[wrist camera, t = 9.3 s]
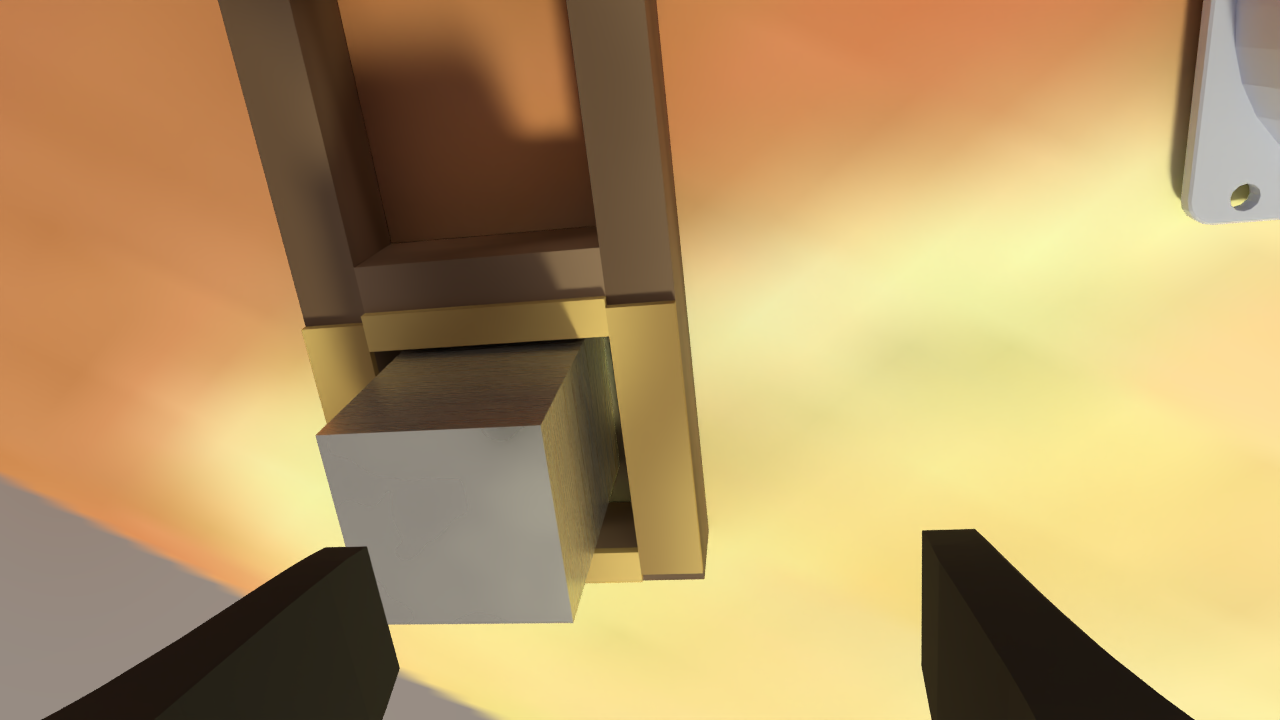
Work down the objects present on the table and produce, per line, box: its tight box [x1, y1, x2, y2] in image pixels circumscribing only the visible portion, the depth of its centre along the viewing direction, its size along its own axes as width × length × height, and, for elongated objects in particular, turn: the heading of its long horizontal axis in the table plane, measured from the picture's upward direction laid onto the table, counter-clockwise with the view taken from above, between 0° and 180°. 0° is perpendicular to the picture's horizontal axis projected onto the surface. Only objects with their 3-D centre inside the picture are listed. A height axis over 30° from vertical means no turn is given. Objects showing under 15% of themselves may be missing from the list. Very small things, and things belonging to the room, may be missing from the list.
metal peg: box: [316, 337, 620, 624], centre depth 18 cm, size 4×4×6 cm
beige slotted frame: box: [218, 0, 709, 583], centre depth 17 cm, size 8×21×2 cm, turn 7°
